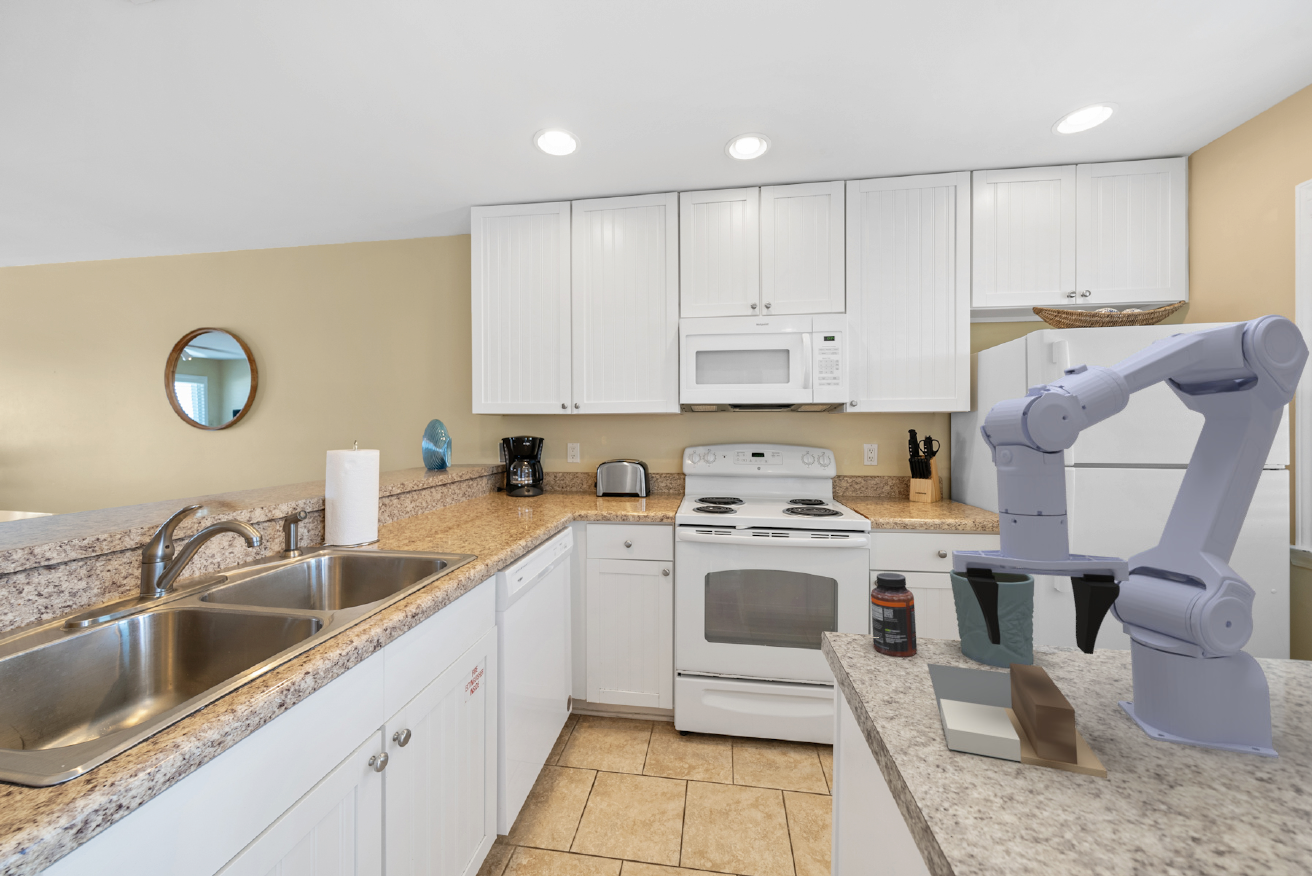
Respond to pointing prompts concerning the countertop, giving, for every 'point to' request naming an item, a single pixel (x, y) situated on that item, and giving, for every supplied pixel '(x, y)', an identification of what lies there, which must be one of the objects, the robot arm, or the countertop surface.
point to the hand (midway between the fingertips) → (1038, 645)
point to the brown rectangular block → (1043, 713)
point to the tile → (979, 730)
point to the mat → (970, 686)
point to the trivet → (1085, 761)
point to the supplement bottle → (893, 616)
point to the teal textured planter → (1011, 617)
